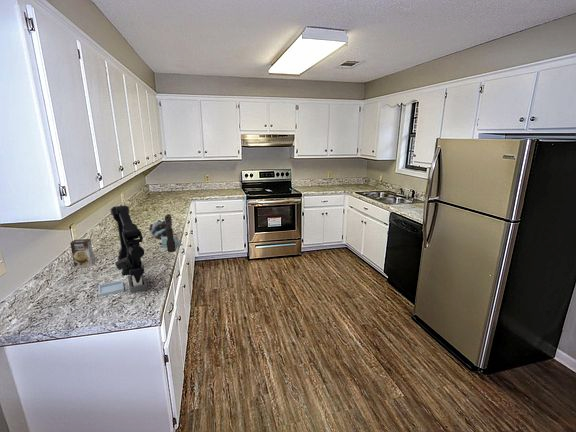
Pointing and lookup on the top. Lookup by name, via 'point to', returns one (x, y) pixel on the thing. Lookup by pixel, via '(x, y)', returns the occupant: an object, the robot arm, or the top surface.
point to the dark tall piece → (169, 236)
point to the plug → (136, 282)
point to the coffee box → (82, 253)
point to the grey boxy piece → (137, 288)
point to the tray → (110, 288)
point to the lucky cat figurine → (158, 229)
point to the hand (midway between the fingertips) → (137, 280)
